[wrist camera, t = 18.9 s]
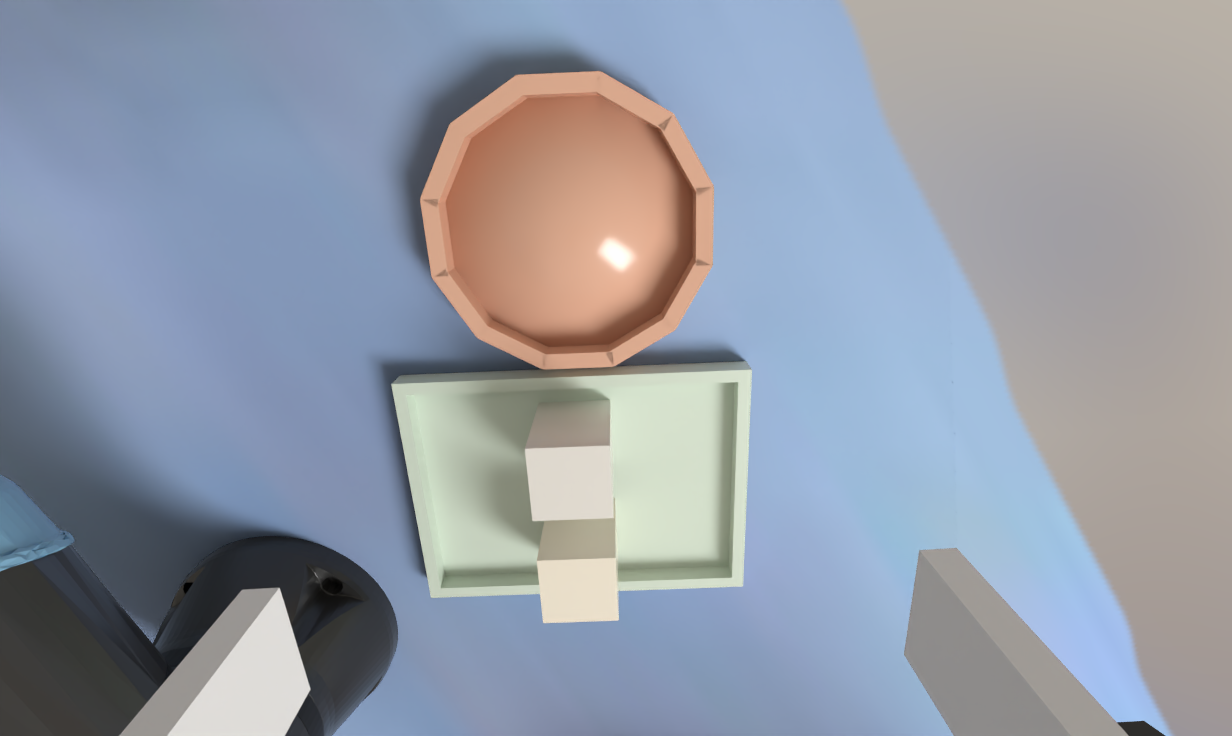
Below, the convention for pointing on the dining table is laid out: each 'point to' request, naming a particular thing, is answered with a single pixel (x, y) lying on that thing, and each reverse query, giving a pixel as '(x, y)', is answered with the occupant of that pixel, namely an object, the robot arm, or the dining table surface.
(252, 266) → the dining table surface
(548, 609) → the cream rectangular block
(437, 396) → the parts tray
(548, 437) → the pale grey block
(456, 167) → the bowl
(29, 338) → the dining table surface
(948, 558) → the robot arm
